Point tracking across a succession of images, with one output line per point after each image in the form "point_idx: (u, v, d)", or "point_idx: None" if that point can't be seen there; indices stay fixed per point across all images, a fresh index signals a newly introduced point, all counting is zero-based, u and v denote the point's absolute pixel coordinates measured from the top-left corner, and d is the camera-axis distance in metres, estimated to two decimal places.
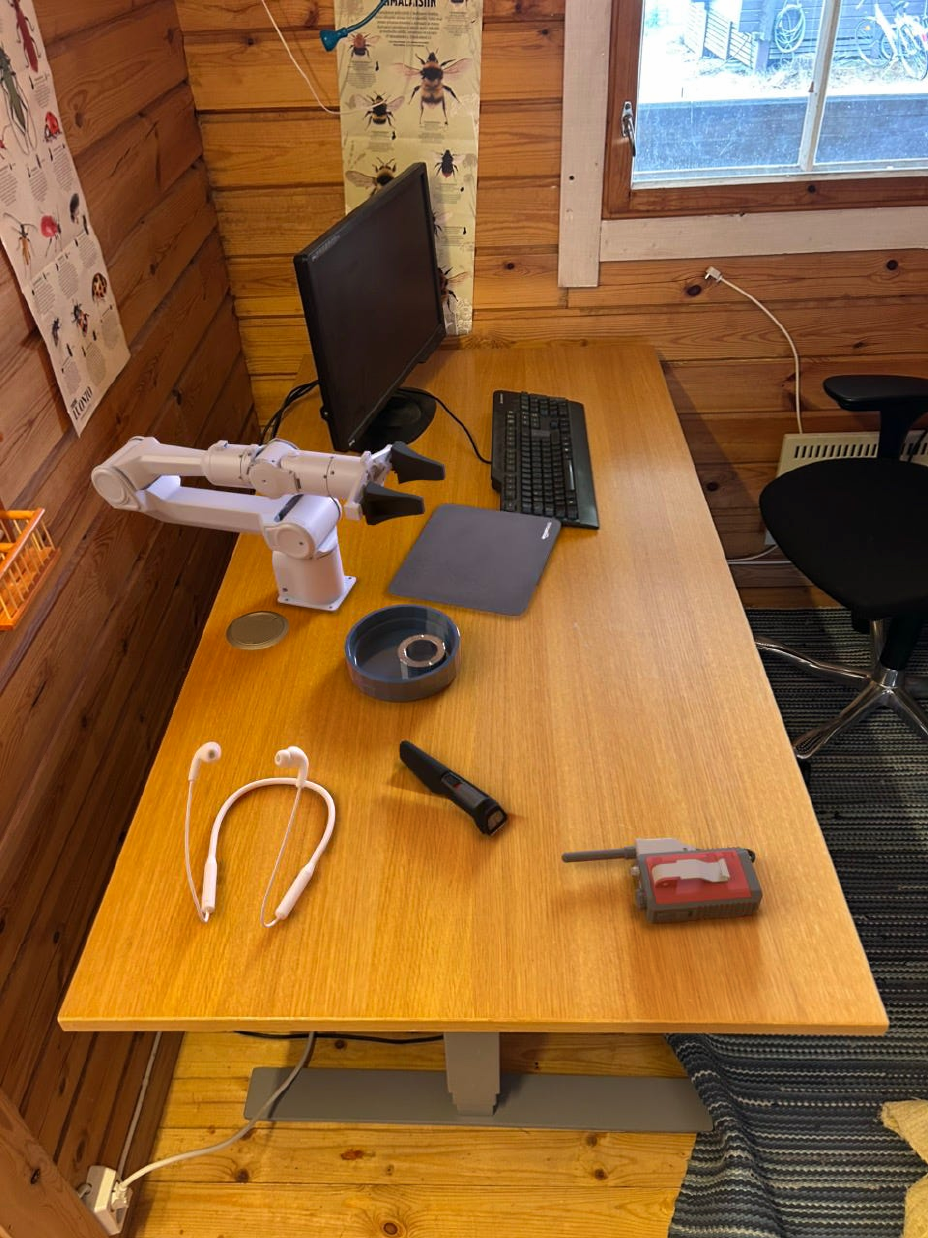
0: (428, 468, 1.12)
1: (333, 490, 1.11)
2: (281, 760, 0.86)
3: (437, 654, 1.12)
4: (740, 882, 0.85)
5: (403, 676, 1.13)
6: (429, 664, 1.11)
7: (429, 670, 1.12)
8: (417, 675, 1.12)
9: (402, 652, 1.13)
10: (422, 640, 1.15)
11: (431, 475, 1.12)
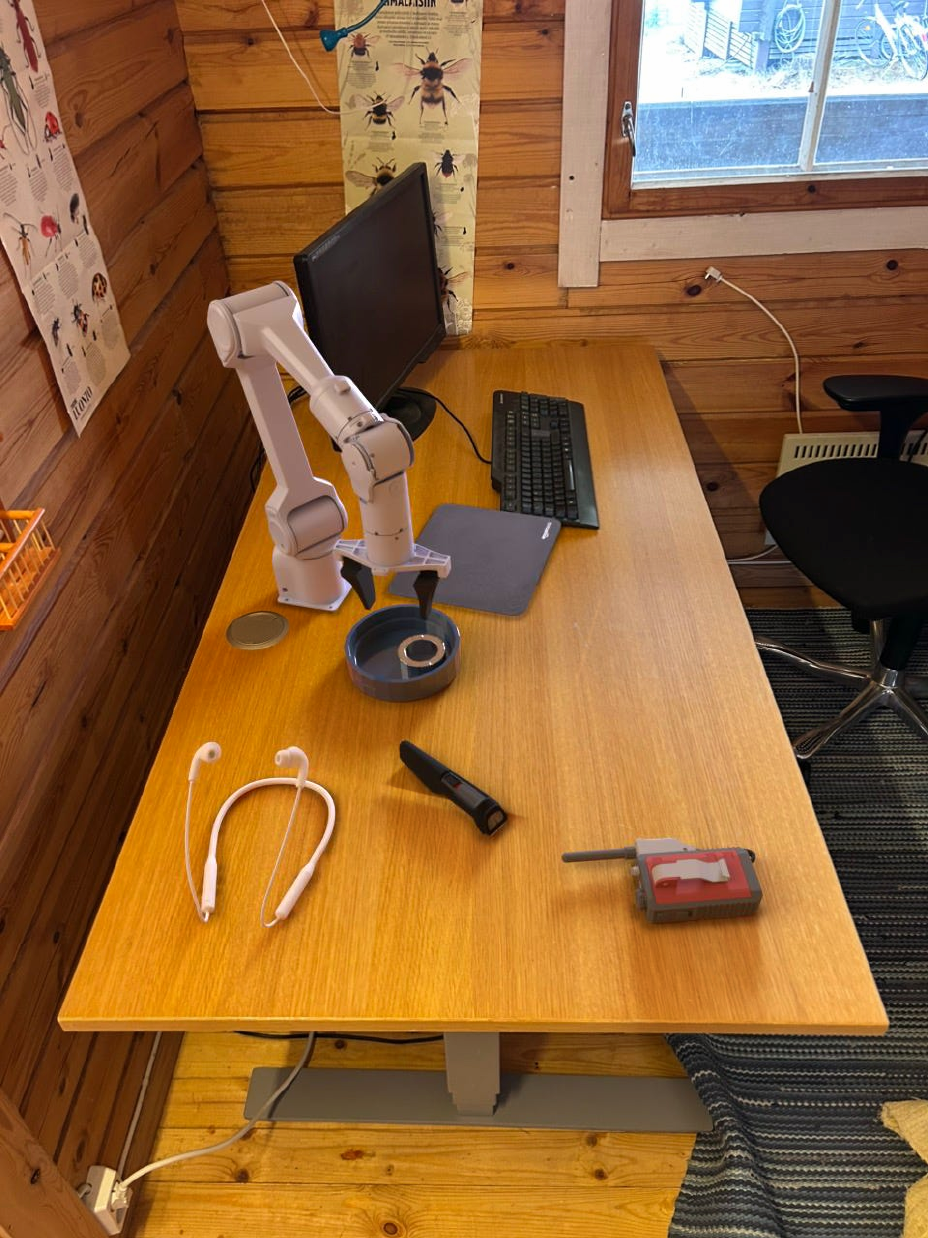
0: None
1: None
2: (281, 760, 0.86)
3: (437, 654, 1.12)
4: (740, 882, 0.85)
5: (403, 676, 1.13)
6: (429, 664, 1.11)
7: (429, 670, 1.12)
8: (417, 675, 1.12)
9: (402, 652, 1.13)
10: (422, 640, 1.15)
11: None
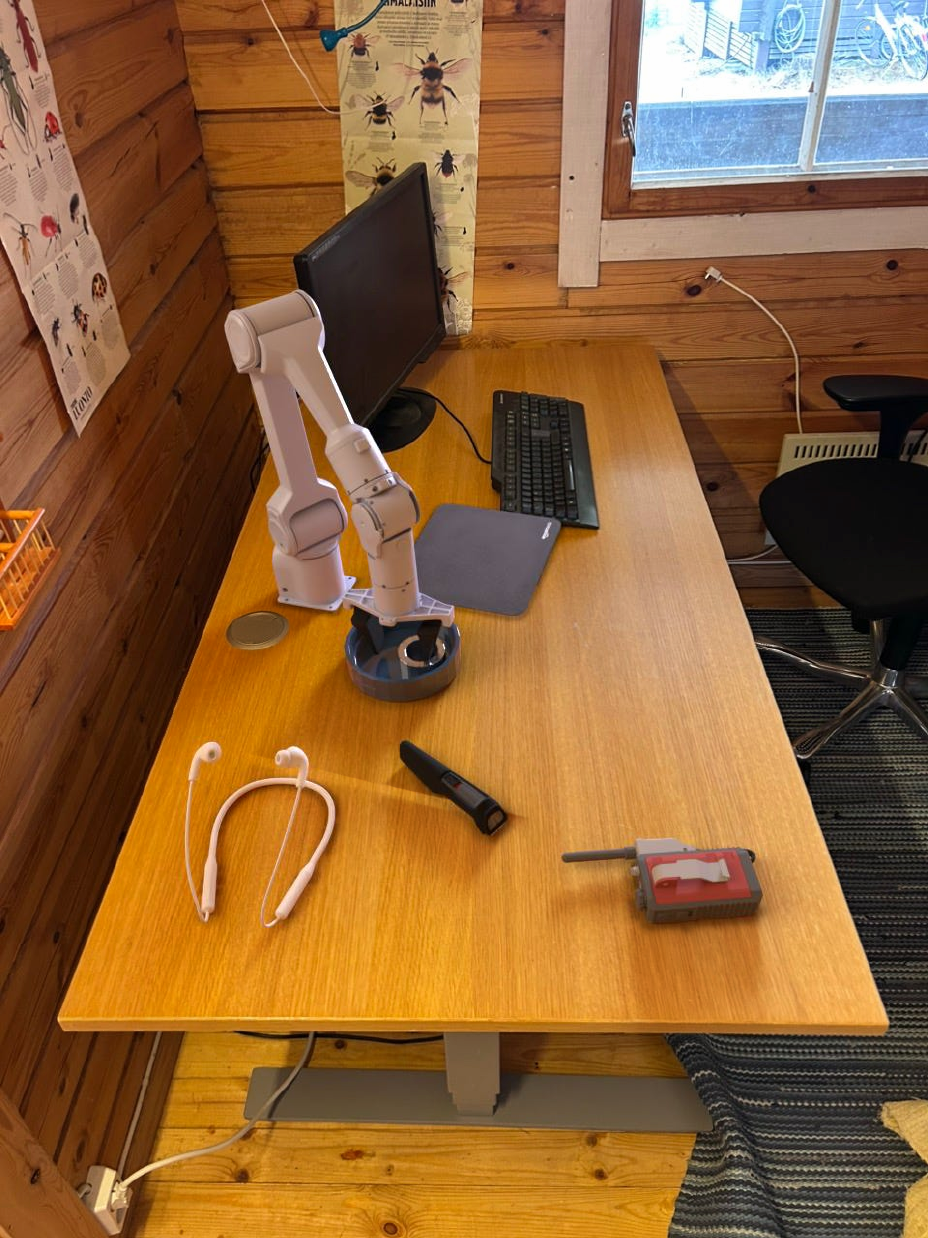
0: None
1: None
2: (281, 760, 0.86)
3: (437, 654, 1.12)
4: (740, 882, 0.85)
5: (403, 676, 1.13)
6: (429, 664, 1.11)
7: (429, 670, 1.12)
8: (417, 675, 1.12)
9: (402, 652, 1.13)
10: None
11: None
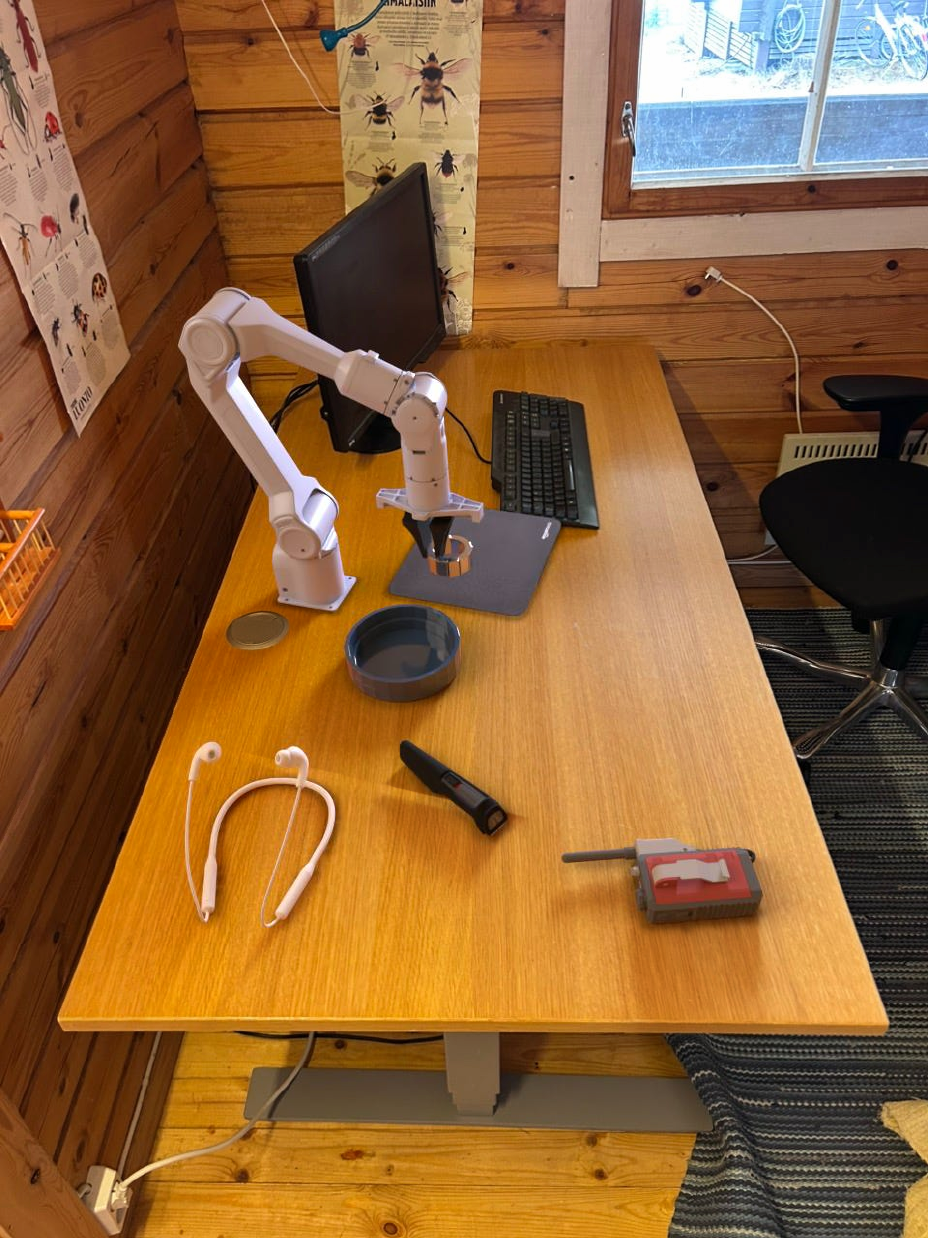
0: None
1: None
2: (282, 760, 0.86)
3: (464, 551, 1.17)
4: (740, 882, 0.85)
5: (403, 676, 1.13)
6: (457, 559, 1.16)
7: (457, 566, 1.16)
8: (445, 571, 1.17)
9: (431, 550, 1.18)
10: (450, 540, 1.20)
11: None
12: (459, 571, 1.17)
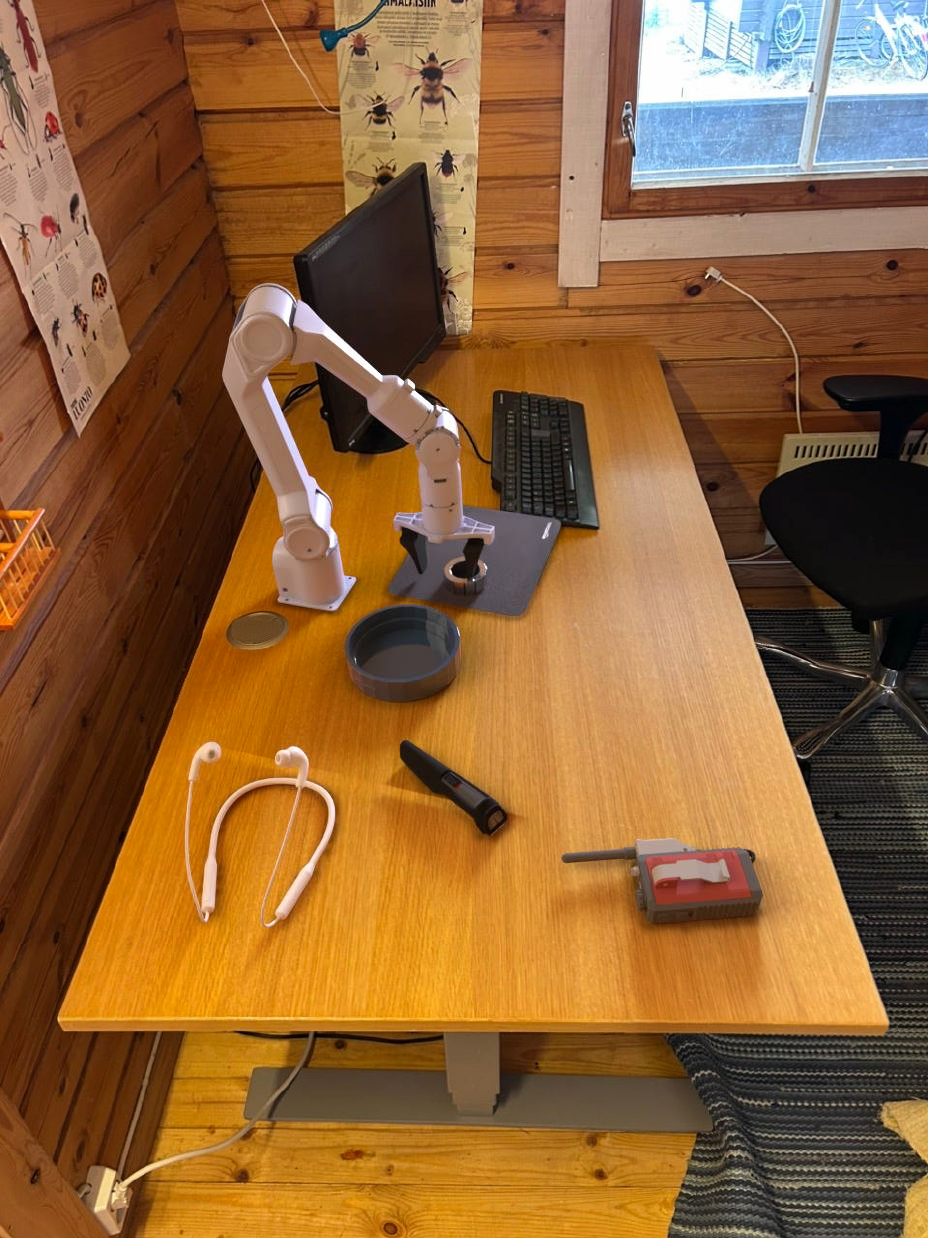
0: None
1: None
2: (282, 760, 0.86)
3: (479, 572, 1.25)
4: (740, 882, 0.85)
5: (403, 676, 1.13)
6: (473, 580, 1.24)
7: (472, 586, 1.24)
8: (462, 591, 1.25)
9: (448, 571, 1.26)
10: (465, 561, 1.28)
11: None
12: (474, 591, 1.25)
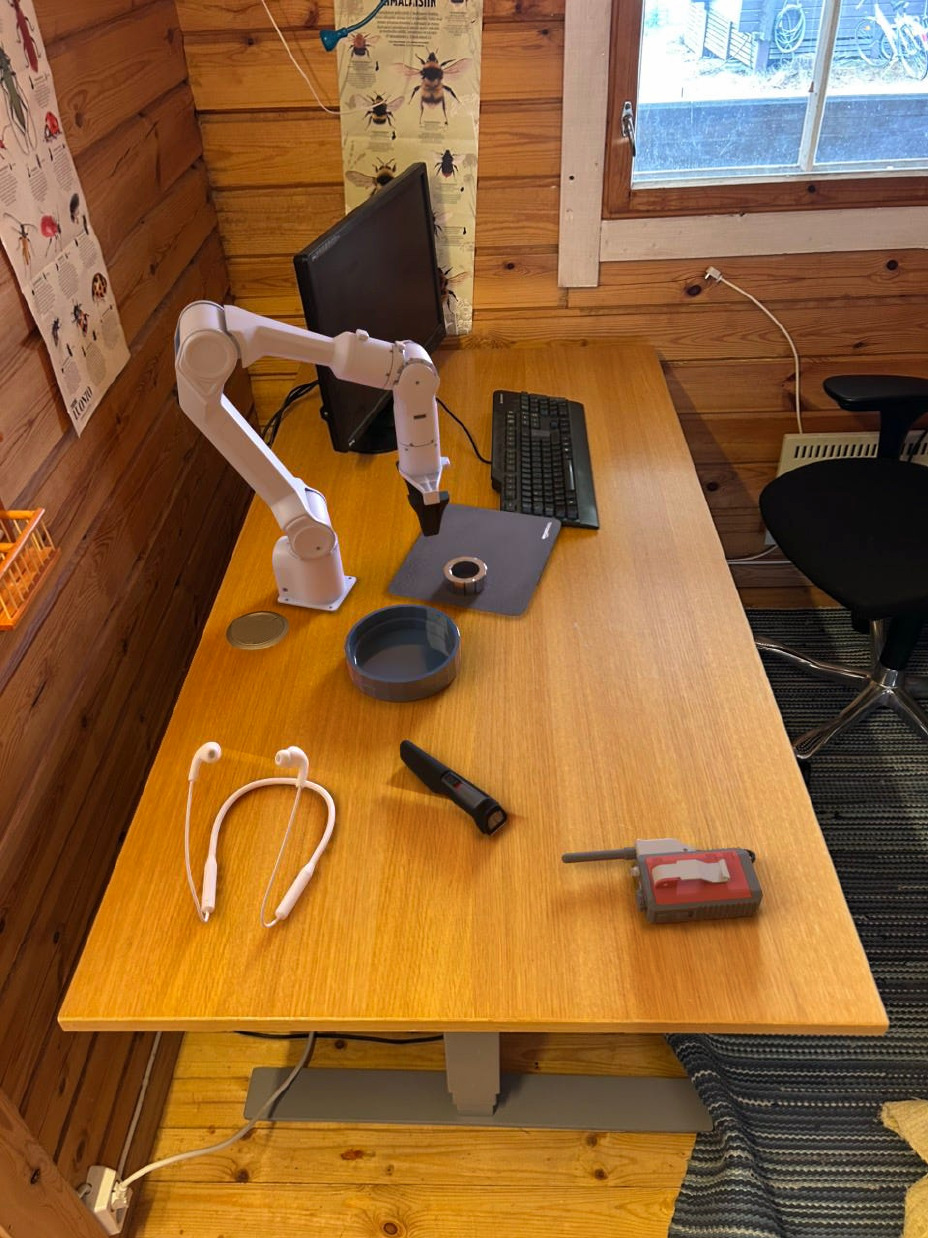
0: None
1: (421, 451, 1.14)
2: (282, 760, 0.86)
3: (479, 572, 1.25)
4: (740, 883, 0.85)
5: (403, 676, 1.13)
6: (473, 580, 1.24)
7: (472, 586, 1.24)
8: (462, 591, 1.25)
9: (448, 571, 1.26)
10: (465, 561, 1.28)
11: None
12: (474, 591, 1.25)
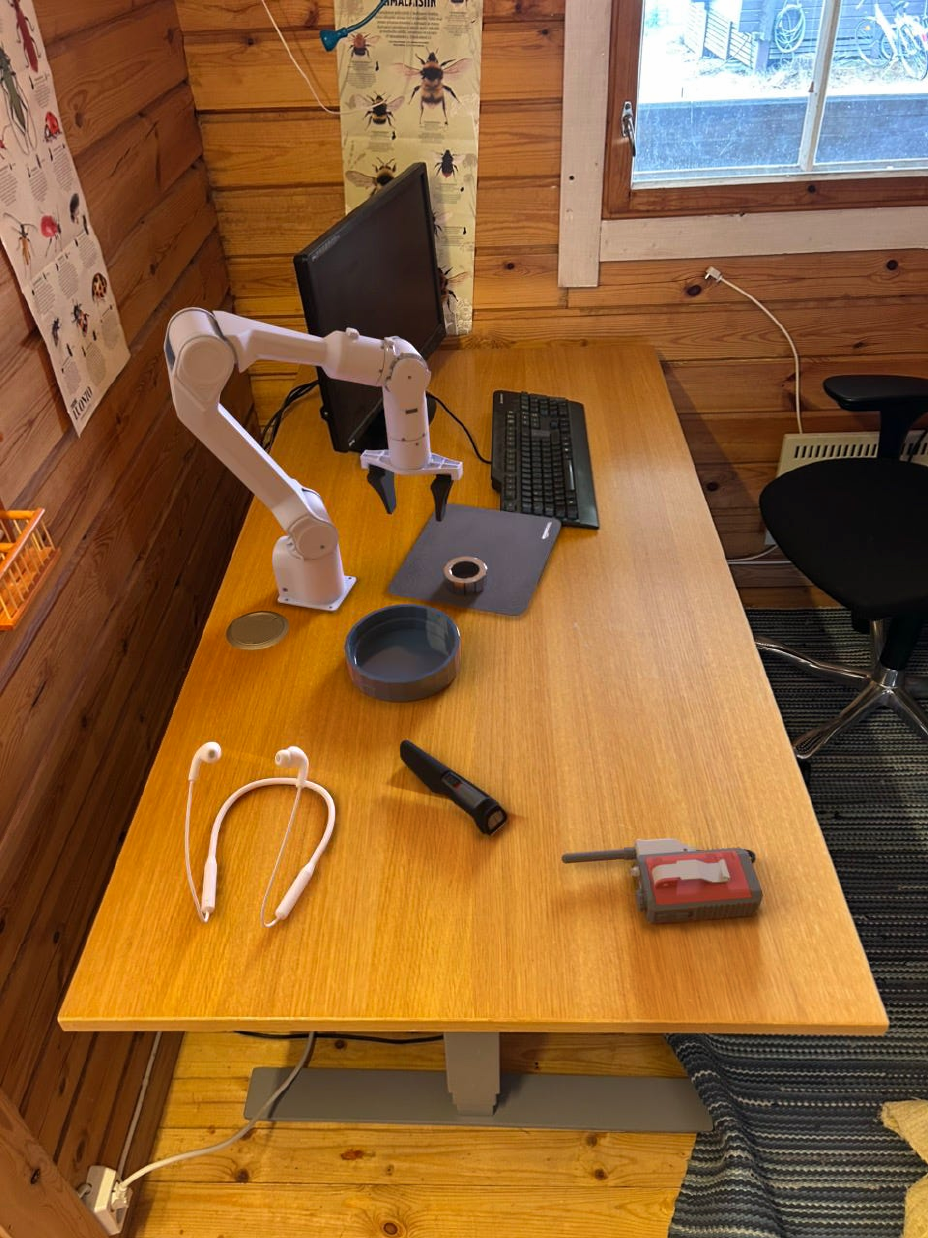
0: (393, 497, 1.26)
1: (427, 438, 1.17)
2: (282, 760, 0.86)
3: (479, 572, 1.25)
4: (740, 883, 0.85)
5: (403, 676, 1.13)
6: (473, 580, 1.24)
7: (472, 586, 1.24)
8: (462, 591, 1.25)
9: (448, 571, 1.26)
10: (465, 561, 1.28)
11: (390, 503, 1.25)
12: (474, 591, 1.25)
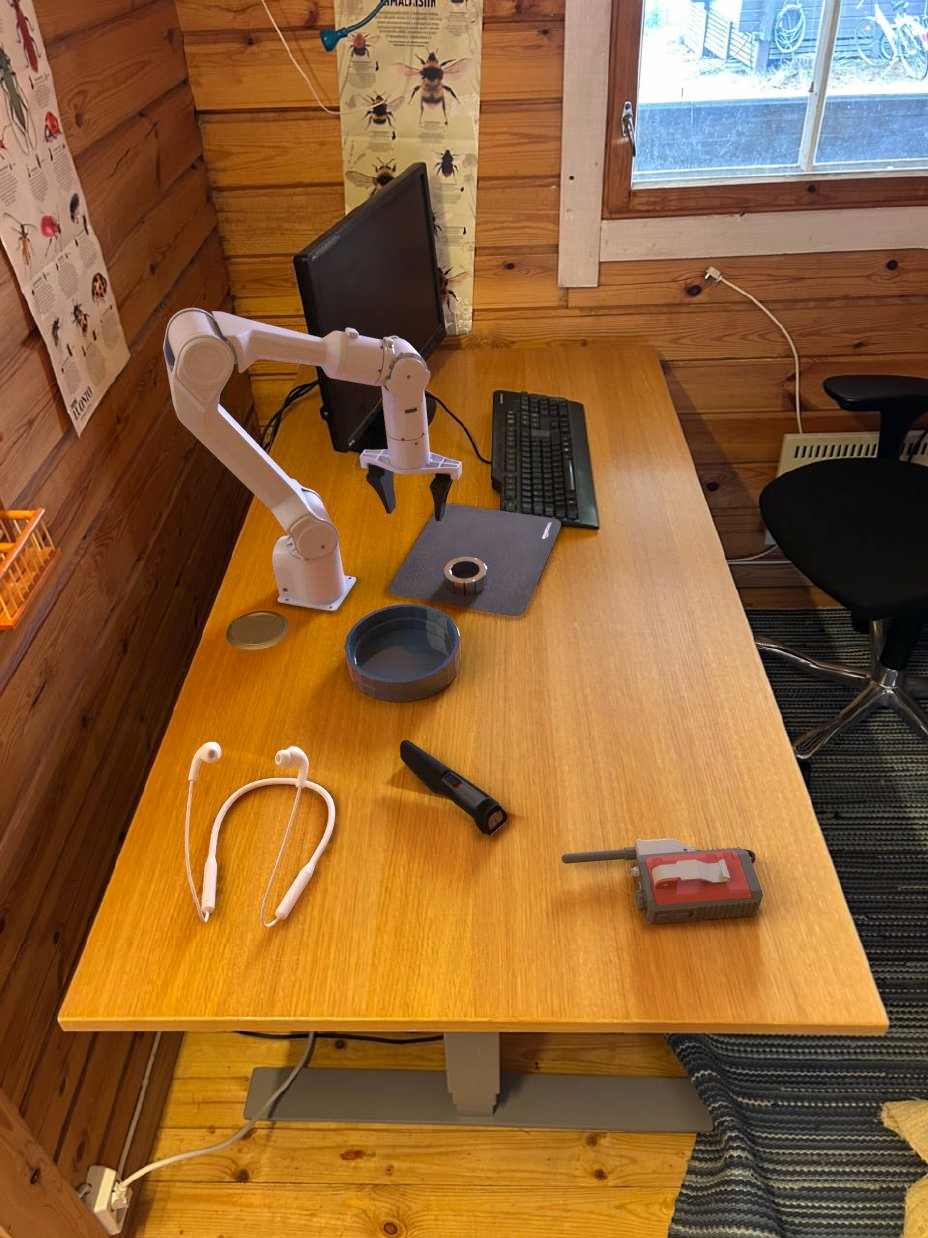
0: (392, 497, 1.26)
1: (426, 438, 1.17)
2: (282, 760, 0.86)
3: (479, 572, 1.25)
4: (740, 883, 0.85)
5: (403, 676, 1.13)
6: (473, 580, 1.24)
7: (472, 586, 1.24)
8: (462, 591, 1.25)
9: (448, 571, 1.26)
10: (465, 561, 1.28)
11: (390, 502, 1.25)
12: (474, 591, 1.25)
